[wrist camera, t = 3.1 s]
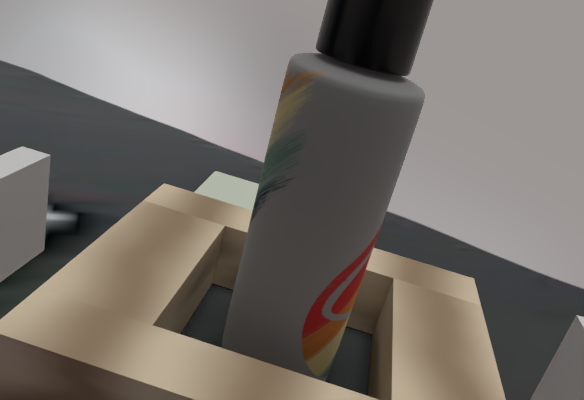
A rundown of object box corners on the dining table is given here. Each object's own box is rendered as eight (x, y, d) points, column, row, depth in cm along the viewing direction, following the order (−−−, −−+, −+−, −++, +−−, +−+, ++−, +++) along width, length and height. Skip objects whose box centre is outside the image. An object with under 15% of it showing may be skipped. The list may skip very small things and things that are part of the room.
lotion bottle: (348, 370, 28) (495, -31, 21) (280, 424, 24) (434, -59, 16) (268, 313, 31) (371, -59, 23) (195, 352, 27) (290, -90, 19)
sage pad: (164, 228, 37) (165, 220, 37) (214, 177, 47) (215, 170, 47) (360, 290, 36) (363, 282, 36) (368, 224, 46) (370, 218, 46)
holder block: (-14, 411, 21) (-12, 330, 19) (155, 237, 36) (164, 183, 34) (489, 587, 20) (535, 514, 18) (450, 330, 34) (473, 278, 33)
